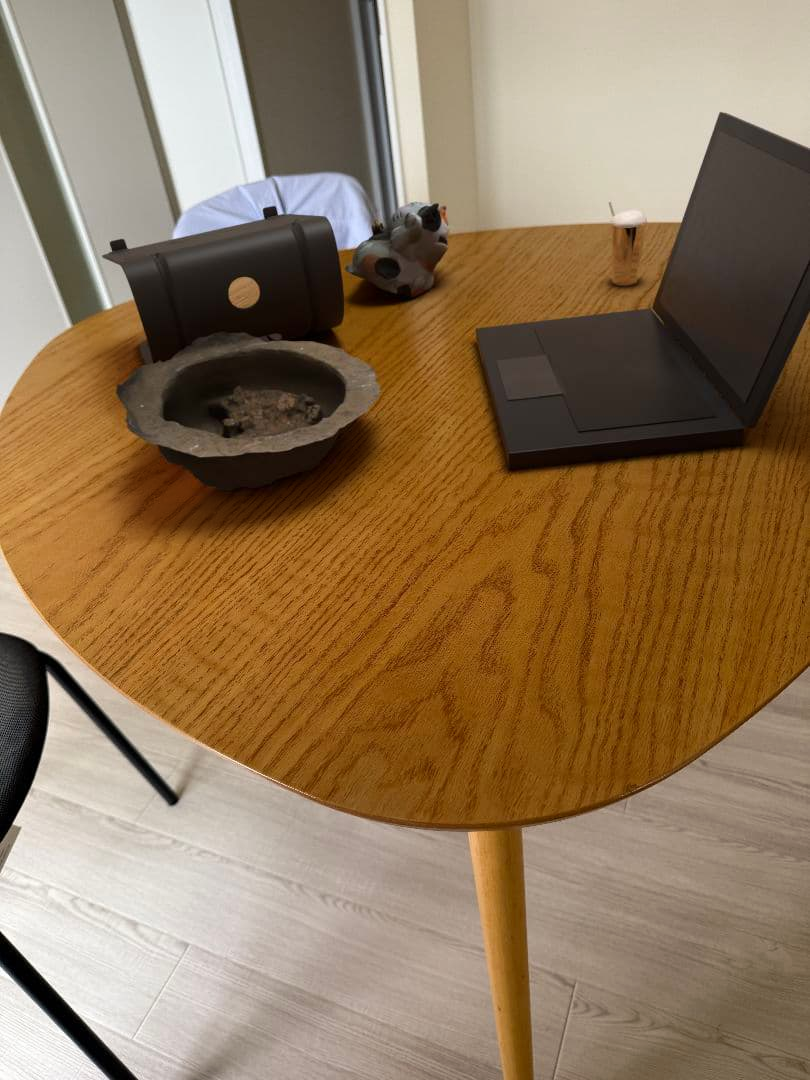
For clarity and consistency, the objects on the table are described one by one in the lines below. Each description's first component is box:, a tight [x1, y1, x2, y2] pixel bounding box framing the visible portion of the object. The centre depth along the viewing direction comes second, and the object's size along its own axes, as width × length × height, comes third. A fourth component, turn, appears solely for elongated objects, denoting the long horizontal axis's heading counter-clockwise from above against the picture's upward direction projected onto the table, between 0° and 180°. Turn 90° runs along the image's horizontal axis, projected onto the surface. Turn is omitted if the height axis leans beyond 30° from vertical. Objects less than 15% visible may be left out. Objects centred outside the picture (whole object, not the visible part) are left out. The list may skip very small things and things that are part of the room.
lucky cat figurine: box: [344, 200, 450, 299], centre depth 111 cm, size 15×12×14 cm
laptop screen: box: [651, 111, 810, 429], centre depth 75 cm, size 21×30×1 cm
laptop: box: [475, 307, 746, 471], centre depth 82 cm, size 21×30×2 cm
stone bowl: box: [115, 332, 382, 491], centre depth 77 cm, size 25×25×9 cm
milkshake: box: [608, 201, 648, 287], centre depth 103 cm, size 4×5×10 cm
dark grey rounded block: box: [101, 205, 345, 365], centre depth 98 cm, size 26×24×16 cm
